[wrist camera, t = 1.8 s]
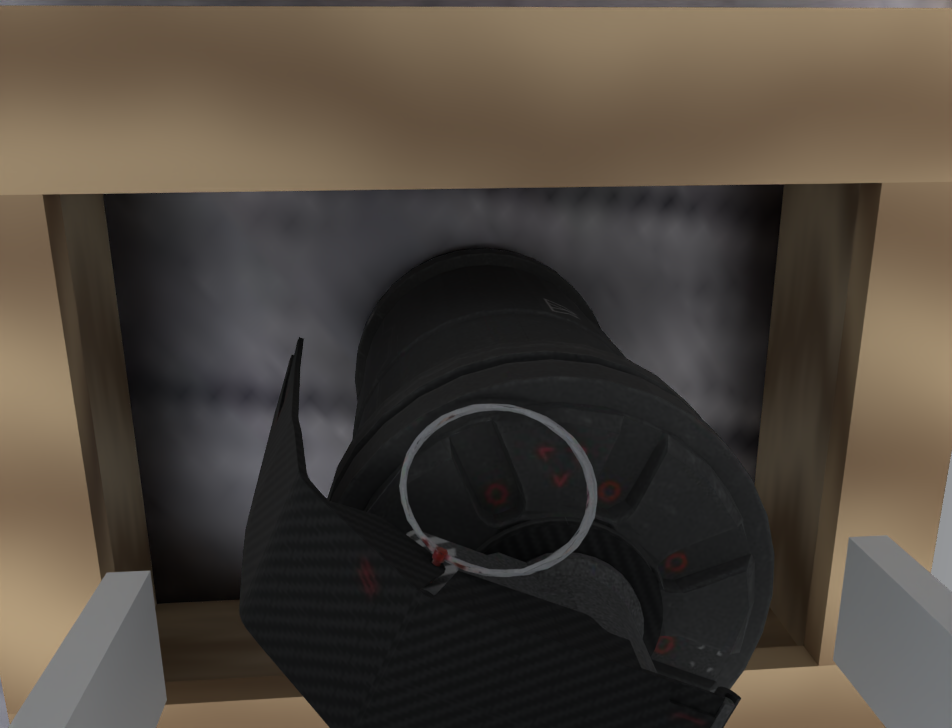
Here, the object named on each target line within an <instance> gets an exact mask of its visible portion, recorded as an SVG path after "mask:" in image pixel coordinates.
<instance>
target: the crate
mask: <svg viewBox="0 0 952 728" xmlns="http://www.w3.org/2000/svg"><path fill="white" fill-rule="evenodd" d="M758 184H784V190H783V200H782V211H781V221H780V231H779V241H778V251H777V261H776V271H775V282H774V292H773V302H772V312H771V322H770V332H769V342H768V353H767V363H766V373H765V383H764V393H763V403H762V413H761V424H760V434H759V444H758V454H757V464H756V474H755V484H754V485H755V487H756V490H757V492H758V494H759V497H760V499H761V502H762V504H763V506H764V509H765V511H766V513H767V516H768V521H769V526H770V532H771V538H772V543H773V549H774V554H775V556H774V579H773V596H772V599H771V603H770V607H769V611H768V615H767V619H766V623H765V626H764V630H763V633H762V636H761V638H760V640H759V642H758V644H757V646H756V648H755V650H754V652H753V654H752V656H751V658H750V660H749V662H748V664H747V666H746V668H745V670H744V671H743V673H742V674H741V675H740V677H739V678H738V679H737V681H736V682H735V683H734V685H733V686H732V688H731V689H730V690H732V691H733V692H735V693H736V694H737V695H738V696H740V697H741V700H740V702H739V703H738V705H737V706H736V708H735V710H734V711H733V713H732V715H731V716H730V718H729V720H728V721H727V723H726V724H725V726H724V728H886V727H885V726H884V724H883V723H882V722H881V721H880V719H879V718H878V717H877V716H876V714H875V713H874V712H873V710H872V709H871V708H870V707H869V705H868V704H867V703H866V702H865V700H864V699H863V698H862V696H861V695H860V694H859V693H858V691H857V690H856V689H855V688H854V686H853V685H852V684H851V682H850V681H849V680H848V679H847V677H846V676H845V675H844V674H843V672H842V671H841V670H840V669H839V667H838V666H837V665H836V663H835V662H834V661H833V656H834V648H835V640H836V633H837V625H838V617H839V610H840V602H841V594H842V586H843V579H844V571H845V563H846V556H847V548H848V540H849V537H862V536H883V535H887V536H888V537H889V538H891V539H892V540H893V541H894V542H895V543H896V544H898V545H899V546H900V547H901V548H902V549H903V550H904V551H906V552H907V553H908V554H909V555H910V556H911V557H912V558H914V559H915V560H916V561H917V562H918V563H919V564H920V565H922V566H923V567H924V568H925V569H926V570H927V571H928V572H930V573H931V569H932V562H933V556H934V551H935V545H936V539H937V533H938V527H939V521H940V516H941V510H942V503H943V498H944V492H945V486H946V481H947V475H948V469H949V463H950V457H951V451H952V8H711V7H343V6H0V677H1V682H2V687H3V692H4V697H5V702H6V707H7V712H8V717H9V722H10V724H11V722H12V721H13V719H14V717H15V716H16V714H17V713H18V711H19V710H20V708H21V706H22V705H23V703H24V702H25V700H26V699H27V697H28V695H29V694H30V692H31V691H32V689H33V688H34V686H35V684H36V683H37V681H38V680H39V678H40V677H41V675H42V673H43V672H44V670H45V669H46V667H47V666H48V664H49V662H50V661H51V659H52V658H53V656H54V655H55V653H56V651H57V650H58V648H59V647H60V645H61V644H62V642H63V640H64V639H65V637H66V636H67V634H68V633H69V631H70V629H71V628H72V626H73V625H74V623H75V622H76V620H77V618H78V617H79V615H80V614H81V612H82V611H83V609H84V607H85V606H86V604H87V603H88V601H89V600H90V598H91V596H92V595H93V593H94V592H95V590H96V589H97V587H98V585H99V584H100V582H101V581H102V579H103V578H104V576H105V575H106V573H110V572H131V571H150V572H151V580H152V587H153V595H154V603H155V611H156V619H157V626H158V634H159V642H160V650H161V658H162V665H163V673H164V681H165V689H166V697H167V701H166V703H165V706H164V709H163V711H162V714H161V716H160V719H159V721H158V724H157V726H156V728H329V726H328V725H327V724H326V723H325V722H324V721H323V719H322V718H321V717H320V716H319V715H318V713H317V712H316V711H315V710H314V709H313V708H312V706H311V705H310V704H309V703H308V702H307V701H306V699H305V698H304V697H303V696H302V695H301V693H300V692H299V691H298V690H297V689H296V688H295V686H294V685H293V684H292V683H291V682H290V681H289V679H288V678H287V677H286V676H285V675H284V674H283V672H282V671H281V670H280V669H279V668H278V666H277V665H276V664H275V663H274V662H273V661H272V659H271V658H270V657H269V656H268V655H267V654H266V652H265V651H264V650H263V649H262V648H261V647H260V645H259V644H258V643H257V642H256V640H255V639H254V638H253V637H252V635H251V634H250V633H249V631H248V630H247V629H246V628H245V626H244V624H243V623H242V620H241V618H240V614H239V604H240V600H223V601H203V602H183V603H163V604H157V601H156V593H155V585H154V578H153V570H152V563H151V555H150V547H149V540H148V532H147V525H146V517H145V510H144V502H143V494H142V487H141V479H140V472H139V464H138V456H137V449H136V441H135V434H134V426H133V419H132V411H131V403H130V396H129V388H128V381H127V373H126V365H125V358H124V350H123V343H122V335H121V328H120V320H119V312H118V305H117V297H116V290H115V282H114V274H113V267H112V259H111V252H110V244H109V237H108V229H107V221H106V214H105V206H104V199H103V194H111V193H183V192H255V191H326V190H398V189H470V188H542V187H614V186H686V185H758Z"/></svg>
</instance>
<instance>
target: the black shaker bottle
mask: <svg viewBox="0 0 952 728" xmlns="http://www.w3.org/2000/svg"><path fill="white" fill-rule="evenodd" d="M303 341H304V339H303V338H300V337H299V339H298V341H297V345H296V349H295V354H294V355H292V356H291V358H290V361H289V365H288V369H287V372H286V376H285V379H284V383H283V386H282V390H281V393H280V397H279V401H278V404H277V408H276V411H275V415H274V418H273V422H272V426H271V430H270V434H269V438H268V442H267V446H266V450H265V454H264V458H263V462H262V466H261V470H260V474H259V478H258V482H257V485H256V489H255V493H254V497H253V501H252V505H251V509H250V513H249V517H248V521H247V526H246V532H245V540H244V549H243V562H242V576H241V590H240V604H239V614H240V618H241V620H242V623H243V624H244V626H245V628H246V629H247V630H248V631H249V633H250V634H251V635H252V637H253V638H254V639H255V640H256V642H257V643H258V644H259V645H260V647H261V648H262V649H263V650H264V651H265V652H266V654H267V655H268V656H269V657H270V658H271V659H272V661H273V662H274V663H275V664H276V665H277V666H278V668H279V669H280V670H281V671H282V672H283V674H284V675H285V676H286V677H287V678H288V679H289V681H290V682H291V683H292V684H293V685H294V686H295V688H296V689H297V690H298V691H299V692H300V693H301V695H302V696H303V697H304V698H305V699H306V701H307V702H308V703H309V704H310V705H311V706H312V708H313V709H314V710H315V711H316V712H317V713H318V715H319V716H320V717H321V718H322V719H323V721H324V722H325V723H326V724H327V725H328V726H329V728H724V726H725V724H726V723H727V721H728V720H729V718H730V716H731V715H732V713H733V711H734V710H735V708H736V706H737V705H738V703H739V702H740V700H741V697H740V696H738V695H737V694H736V693H735V692H733V691H732V690H730V689H731V688H732V686H733V685H734V683H735V682H736V681H737V679H738V678H739V677H740V675H741V674H742V673H743V671H744V670H745V668H746V666H747V664H748V662H749V660H750V658H751V656H752V654H753V652H754V650H755V648H756V646H757V644H758V642H759V640H760V638H761V636H762V633H763V630H764V626H765V623H766V619H767V615H768V611H769V607H770V603H771V599H772V596H773V579H774V556H775V554H774V549H773V543H772V538H771V532H770V526H769V521H768V516H767V513H766V511H765V509H764V506H763V504H762V502H761V499H760V497H759V494H758V492H757V490H756V487H755V485H754V483H753V480H752V478H751V477H750V476H749V474H748V473H747V471H746V470H745V469H744V467H743V466H742V465H741V463H740V462H739V461H738V459H737V458H736V456H735V455H734V454H733V452H732V451H731V450H730V448H729V447H728V445H727V444H726V443H725V442H724V441H723V440H722V439H721V438H720V437H719V436H718V435H717V434H716V433H715V432H714V431H713V430H712V428H711V427H710V426H709V425H708V424H707V423H705V422H704V421H703V420H702V418H701V417H700V416H699V414H698V413H697V412H696V411H695V410H694V409H693V408H692V407H691V406H690V405H689V404H688V403H687V402H686V401H685V400H684V399H683V398H682V397H681V396H679V395H678V394H677V393H676V392H675V391H674V390H673V389H671V388H670V387H669V386H668V385H667V384H666V383H665V382H663V381H662V380H661V379H660V378H659V377H658V376H656V375H654V374H653V373H651V372H649V371H647V370H645V369H644V368H642V367H640V366H638V365H636V364H635V363H633V362H631V361H629V360H627V359H626V358H625V357H624V355H623V354H622V353H621V352H620V351H619V349H618V348H617V347H616V346H615V345H614V344H613V343H612V341H611V340H610V339H609V338H608V337H607V336H606V335H605V333H604V332H603V331H602V330H601V329H600V327H599V325H598V322H597V320H596V318H595V316H594V314H593V312H592V310H591V309H590V308H589V306H588V305H587V304H586V302H585V301H584V300H583V298H582V297H581V296H580V294H579V293H578V292H577V291H576V290H575V289H574V288H573V286H571V285H570V284H569V283H568V282H567V281H566V280H565V279H563V278H562V277H561V276H560V275H559V274H558V273H557V272H555V271H554V270H552V269H551V268H549V267H547V266H545V265H543V264H542V263H540V262H538V261H536V260H535V259H532V258H529V257H526V256H523V255H520V254H517V253H514V252H511V251H504V250H495V249H487V248H483V249H471V250H460V251H456V252H452V253H449V254H445V255H442V256H438V257H435V258H433V259H431V260H429V261H427V262H425V263H423V264H421V265H419V266H417V267H416V268H414V269H412V270H411V271H410V272H408V273H407V274H406V275H405V276H403V277H402V278H401V279H399V280H398V281H397V282H396V283H394V284H393V285H392V287H391V288H390V289H389V290H388V291H387V292H386V294H385V295H384V296H383V297H382V298H381V299H380V301H379V302H378V303H377V305H376V307H375V308H374V310H373V312H372V314H371V316H370V317H369V319H368V321H367V323H366V325H365V328H364V331H363V334H362V338H361V341H360V344H359V347H358V353H357V363H356V373H355V384H356V393H357V401H358V402H357V409H356V416H355V423H354V430H353V440H352V442H351V444H350V445H349V447H348V449H347V451H346V452H345V454H344V456H343V458H342V459H341V461H340V463H339V465H338V467H337V470H336V473H335V476H334V480H333V483H332V486H331V489H330V492H329V495H328V498H327V499H326V498H325V497H324V496H323V495H322V493H321V492H320V491H319V490H318V489H317V488H316V487H315V486H314V484H313V483H312V482H311V481H310V479H309V478H308V475H307V472H306V464H305V456H304V448H303V440H302V432H301V428H300V424H299V419H298V411H299V386H300V366H301V357H302V349H303Z"/></svg>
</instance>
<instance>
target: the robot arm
mask: <svg viewBox="0 0 952 728" xmlns="http://www.w3.org/2000/svg"><path fill="white" fill-rule="evenodd" d="M833 661H834V662H835V663H836V665H837V666H838V667H839V669H840V670H841V671H842V672H843V674H844V675H845V676H846V677H847V679H848V680H849V681H850V682H851V684H852V685H853V686H854V688H855V689H856V690H857V691H858V693H859V694H860V695H861V696H862V698H863V699H864V700H865V702H866V703H867V704H868V705H869V707H870V708H871V709H872V710H873V712H874V713H875V714H876V716H877V717H878V718H879V719H880V721H881V722H882V723H883V724H884V726H885V727H886V728H952V592H951V591H950V590H949V589H948V588H947V587H945V585H943V584H942V583H941V582H940V581H939V580H938V579H937V578H935V577H934V576H933V575H932V574H931V573H930V572H928V571H927V570H926V569H925V568H924V567H923V566H922V565H920V564H919V563H918V562H917V561H916V560H915V559H914V558H912V557H911V556H910V555H909V554H908V553H907V552H906V551H904V550H903V549H902V548H901V547H900V546H899V545H898V544H896V543H895V542H894V541H893V540H892V539H891V538H889V537H888V536H887V535H883V536H862V537H849V540H848V548H847V556H846V563H845V571H844V579H843V586H842V594H841V602H840V610H839V617H838V625H837V633H836V640H835V648H834V656H833ZM166 701H167V697H166V689H165V681H164V673H163V665H162V658H161V650H160V642H159V634H158V626H157V619H156V611H155V603H154V595H153V587H152V580H151V572H150V571H131V572H110V573H106V575H105V576H104V578H103V579H102V581H101V582H100V584H99V585H98V587H97V589H96V590H95V592H94V593H93V595H92V596H91V598H90V600H89V601H88V603H87V604H86V606H85V607H84V609H83V611H82V612H81V614H80V615H79V617H78V618H77V620H76V622H75V623H74V625H73V626H72V628H71V629H70V631H69V633H68V634H67V636H66V637H65V639H64V640H63V642H62V644H61V645H60V647H59V648H58V650H57V651H56V653H55V655H54V656H53V658H52V659H51V661H50V662H49V664H48V666H47V667H46V669H45V670H44V672H43V673H42V675H41V677H40V678H39V680H38V681H37V683H36V684H35V686H34V688H33V689H32V691H31V692H30V694H29V695H28V697H27V699H26V700H25V702H24V703H23V705H22V706H21V708H20V710H19V711H18V713H17V714H16V716H15V717H14V719H13V721H12V722H11V724H10V725H9V727H8V728H156V726H157V724H158V721H159V719H160V716H161V714H162V711H163V709H164V706H165V703H166Z"/></svg>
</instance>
